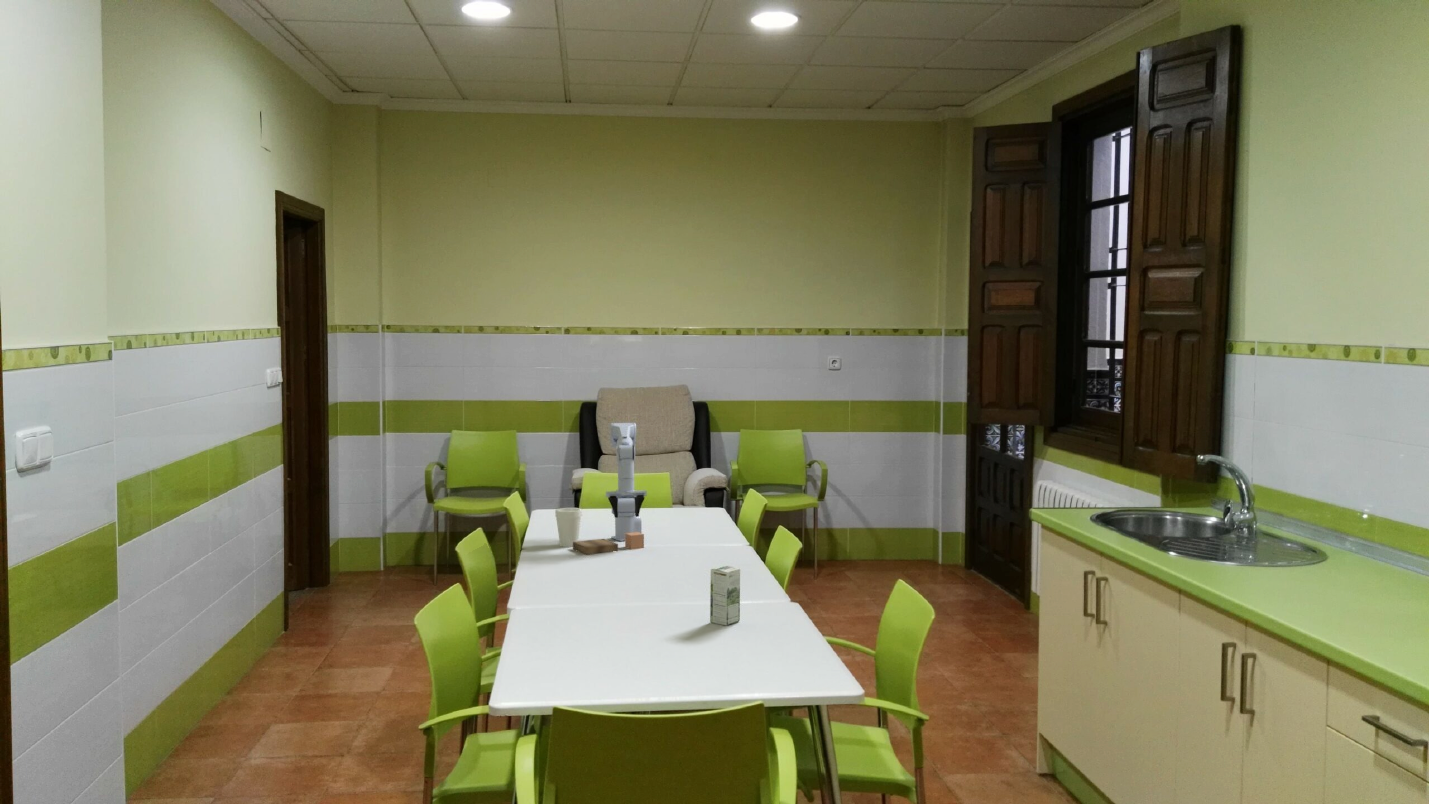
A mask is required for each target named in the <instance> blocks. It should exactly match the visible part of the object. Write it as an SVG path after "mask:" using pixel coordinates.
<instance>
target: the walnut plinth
mask: <svg viewBox="0 0 1429 804" xmlns="http://www.w3.org/2000/svg"><path fill="white" fill-rule="evenodd" d="M572 549H573V550H574V551H576V550H577V552H579V553H581V554H584V555H586V556H588V555H590V554H591V555H598V554H606V553H614V552H613V551H616V552H619V544H618V543H615V541H614V542H613V541H611V540H609V539H605V538H597V539H589V540H578V541H577V542H573V547H572ZM591 555H590V556H591Z"/></svg>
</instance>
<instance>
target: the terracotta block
mask: <svg viewBox="0 0 1429 804" xmlns="http://www.w3.org/2000/svg"><path fill="white" fill-rule="evenodd" d="M624 545H625V546H624V547H625V548H627V549H629V550H636V549H644V548H645V534H644V533H639V532H633V533H625V542H624Z"/></svg>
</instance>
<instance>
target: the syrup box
mask: <svg viewBox="0 0 1429 804" xmlns="http://www.w3.org/2000/svg"><path fill="white" fill-rule="evenodd" d="M709 593H710V596H709V597H710V600H709V601H710V605H709V606H710V608H709V610H710V613H709V617H710V618H709V619H710V621H709V622H710V623H712V624H715V625H722V626H729V625H733V624H736V623H738V622H740V617H741V615H740V614H741V613H740V612H741V606H740V605H741V569H740V568H739V567H735V566H731V565H730V566H729V565H722V566H719V567H715V568H711V569H710V592H709Z"/></svg>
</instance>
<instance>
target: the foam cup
mask: <svg viewBox="0 0 1429 804" xmlns="http://www.w3.org/2000/svg"><path fill="white" fill-rule="evenodd" d="M554 512H555V513H554V514H555V515H554V516H555V519H556V525H557V532H558V539H559V545H560V547H562V546H563V548H573V542H577V541H580V540H579V538H580V530H581V529H580V528H581V522H582V517H583V513H582V512H583V509H582V508H579V507H561V508H557V509H555V511H554Z"/></svg>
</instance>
